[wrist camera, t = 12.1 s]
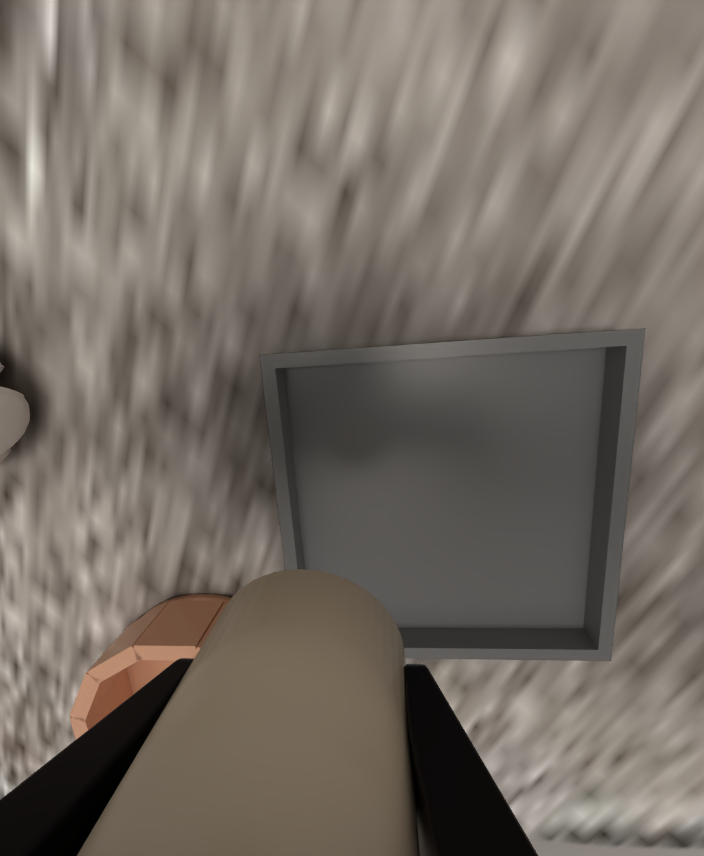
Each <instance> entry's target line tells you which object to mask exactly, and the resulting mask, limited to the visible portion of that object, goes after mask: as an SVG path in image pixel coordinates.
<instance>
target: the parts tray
mask: <svg viewBox="0 0 704 856" xmlns="http://www.w3.org/2000/svg"><path fill="white" fill-rule="evenodd" d="M644 336H645V328H642V329H627V330H611V331H597V332H582V333H568V334H553V335H539V336H524V337H510V338H495V339H481V340H466V341H452V342H437V343H423V344H408V345H394V346H379V347H365V348H350V349H336V350H321V351H307V352H292V353H278V354H264V355H259V356H260V364H261V373H262V381H263V389H264V397H265V406H266V414H267V422H268V431H269V439H270V447H271V456H272V464H273V472H274V481H275V489H276V497H277V506H278V514H279V522H280V530H281V539H282V547H283V555H284V564H285V570H296V569H304V570H316V571H322V572H327V573H330V574H334V575H337V576H340V577H342V578H345V579H347V580H349V581H352V582H353V583H355V584H357V585H359V586H360V587H362V588H364V589H365V590H366V591H368V592H369V593H370V594H372V595H373V596H374V597H375V598H376V599H377V600H378V601H379V602H380V603H381V604H382V605H383V606H384V607H385V608H386V609H387V611H388V612H389V613H390V614H391V616H392V618H393V619H394V621H395V623H396V624H397V627H398V629H399V631H400V634H401V637H402V641H403V645H404V652H405V658H430V659H506V660H582V661H611V655H612V646H613V636H614V626H615V617H616V607H617V597H618V588H619V578H620V568H621V559H622V549H623V539H624V530H625V520H626V510H627V501H628V491H629V481H630V472H631V462H632V452H633V443H634V433H635V423H636V414H637V404H638V394H639V385H640V375H641V365H642V356H643V346H644Z"/></svg>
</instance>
